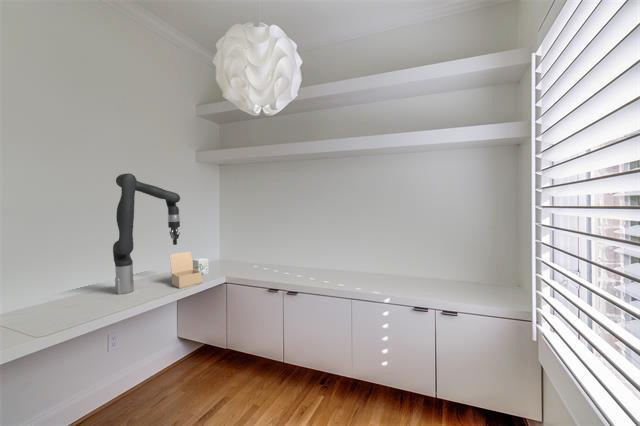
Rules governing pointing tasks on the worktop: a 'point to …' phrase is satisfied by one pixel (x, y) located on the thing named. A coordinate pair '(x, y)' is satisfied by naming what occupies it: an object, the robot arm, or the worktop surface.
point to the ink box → (201, 265)
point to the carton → (186, 278)
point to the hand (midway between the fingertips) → (175, 244)
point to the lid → (181, 262)
